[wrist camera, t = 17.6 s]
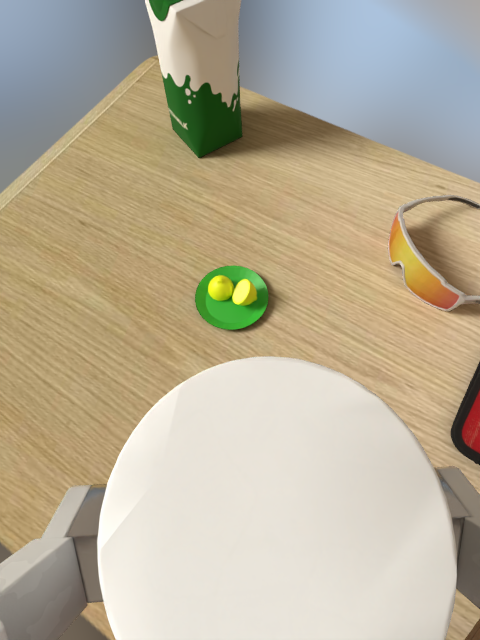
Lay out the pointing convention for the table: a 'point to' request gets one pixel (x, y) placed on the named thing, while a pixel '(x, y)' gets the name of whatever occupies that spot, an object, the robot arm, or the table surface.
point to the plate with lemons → (231, 297)
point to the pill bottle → (275, 514)
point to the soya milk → (200, 69)
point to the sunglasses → (424, 263)
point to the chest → (474, 632)
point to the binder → (469, 421)
